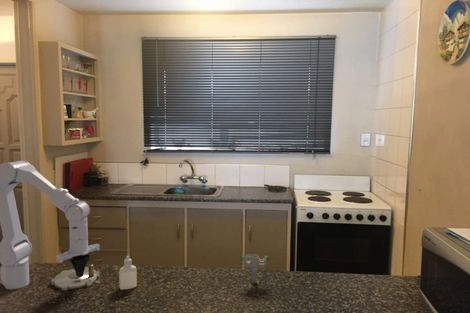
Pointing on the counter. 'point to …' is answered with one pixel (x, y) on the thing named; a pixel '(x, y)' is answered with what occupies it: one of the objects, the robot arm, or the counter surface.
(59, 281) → the tabbed shallow bowl
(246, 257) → the mechanical component
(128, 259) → the eye dropper bottle
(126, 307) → the counter surface
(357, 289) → the counter surface
